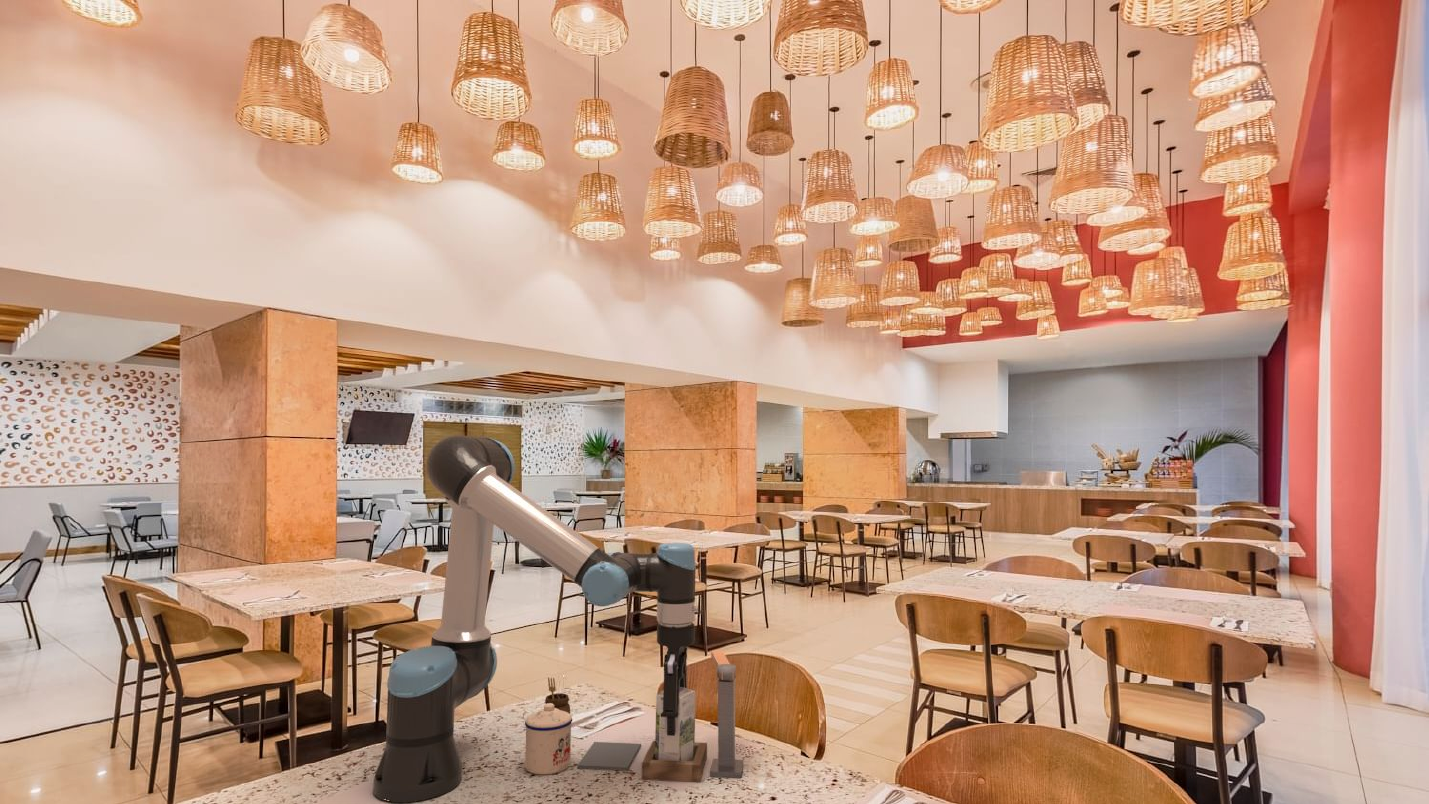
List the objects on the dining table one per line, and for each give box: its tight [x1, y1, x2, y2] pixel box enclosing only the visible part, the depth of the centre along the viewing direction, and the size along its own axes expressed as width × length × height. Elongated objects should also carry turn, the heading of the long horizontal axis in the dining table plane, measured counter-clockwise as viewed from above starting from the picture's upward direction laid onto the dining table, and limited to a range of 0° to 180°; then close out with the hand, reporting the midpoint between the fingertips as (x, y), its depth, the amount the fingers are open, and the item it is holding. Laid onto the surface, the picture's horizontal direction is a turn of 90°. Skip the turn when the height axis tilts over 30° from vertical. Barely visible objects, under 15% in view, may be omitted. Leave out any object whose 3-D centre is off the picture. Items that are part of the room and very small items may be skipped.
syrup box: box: [654, 687, 696, 762], centre depth 138 cm, size 6×6×14 cm
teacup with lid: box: [524, 703, 573, 775], centre depth 141 cm, size 12×9×12 cm
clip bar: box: [710, 649, 737, 680], centre depth 145 cm, size 16×4×2 cm, turn 7°
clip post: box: [709, 678, 744, 779], centre depth 137 cm, size 6×6×17 cm
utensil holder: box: [544, 675, 571, 715], centre depth 159 cm, size 6×6×12 cm
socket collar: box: [641, 740, 708, 783], centre depth 138 cm, size 11×11×3 cm
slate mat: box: [576, 741, 642, 772], centre depth 143 cm, size 10×12×1 cm
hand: (675, 743), depth 138 cm, fingers closed on syrup box, 7 cm apart
